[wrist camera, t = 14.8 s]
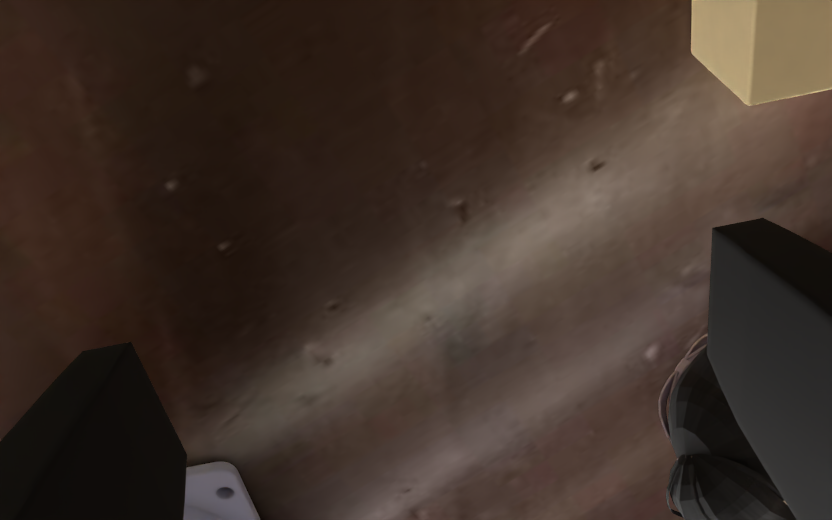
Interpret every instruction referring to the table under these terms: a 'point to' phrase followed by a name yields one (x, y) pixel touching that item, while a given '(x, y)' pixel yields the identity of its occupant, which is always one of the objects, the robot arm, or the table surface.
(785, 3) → the notched tile
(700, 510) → the toy figure
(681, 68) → the table surface
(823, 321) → the robot arm
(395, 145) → the table surface
